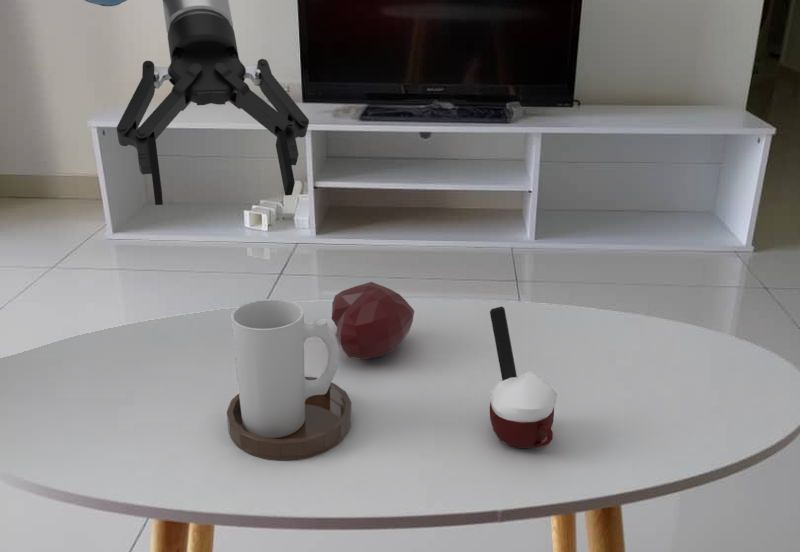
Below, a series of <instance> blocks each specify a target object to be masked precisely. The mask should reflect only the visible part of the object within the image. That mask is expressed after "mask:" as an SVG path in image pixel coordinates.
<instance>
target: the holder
mask: <svg viewBox="0 0 800 552" xmlns="http://www.w3.org/2000/svg"><path fill="white" fill-rule="evenodd" d="M304 376H305V375H304ZM318 378H319V377H314V376H305V379H307V380H315V379H318ZM352 410H353V409H352V401H351V399H350V397H349V395H348V393H347V392H346V390H344V389H343V388H341V387H340V386H339V385H337V384H336V383H334V382H331V384H330V386H329V389H328V391H327V393H326V394H324V395H315V396H311V397H309V398H307V399H306V400H305V421H304V424H303V425H302V427H301V428H300V429H299V430H297V431H296V432H294V433H293V434H290V435H288V436H285V437H281V438H264V437H259V436H257V435H254V434H252V433H249V432H247V431H246V430H245V429H244V427H243V424H242V415H241V406H240V398H239V393H237V394H236V395H235V396H234V397H233V398H232V399H231V400H230V403H229V405H228V407H227V410H226V418H227V419H226V421H227V427H228V434H229V438H230V439H231V441H232V443H234V445H235V446H236V447H237V448H239V449H240V450H241V451H243V452H244V453H247V454H248V455H251V456H253V457H256V458H261V459H264V460H265V459H266V460H270V461H271V460H273V461H294V460H295V461H296V460H303V459H308V458H311V457H315V456H318V455H321V454H323V453H325V452H328V451H329V450H331V449H333V448H335V447H336V446H337V445H339V444H340V443H341V442H342V441H343V440H344V439H345V438H346V437H347V435H348V434H349V432H350V430H351V426H352V417H353V414H352V413H353V412H352Z"/></svg>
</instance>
